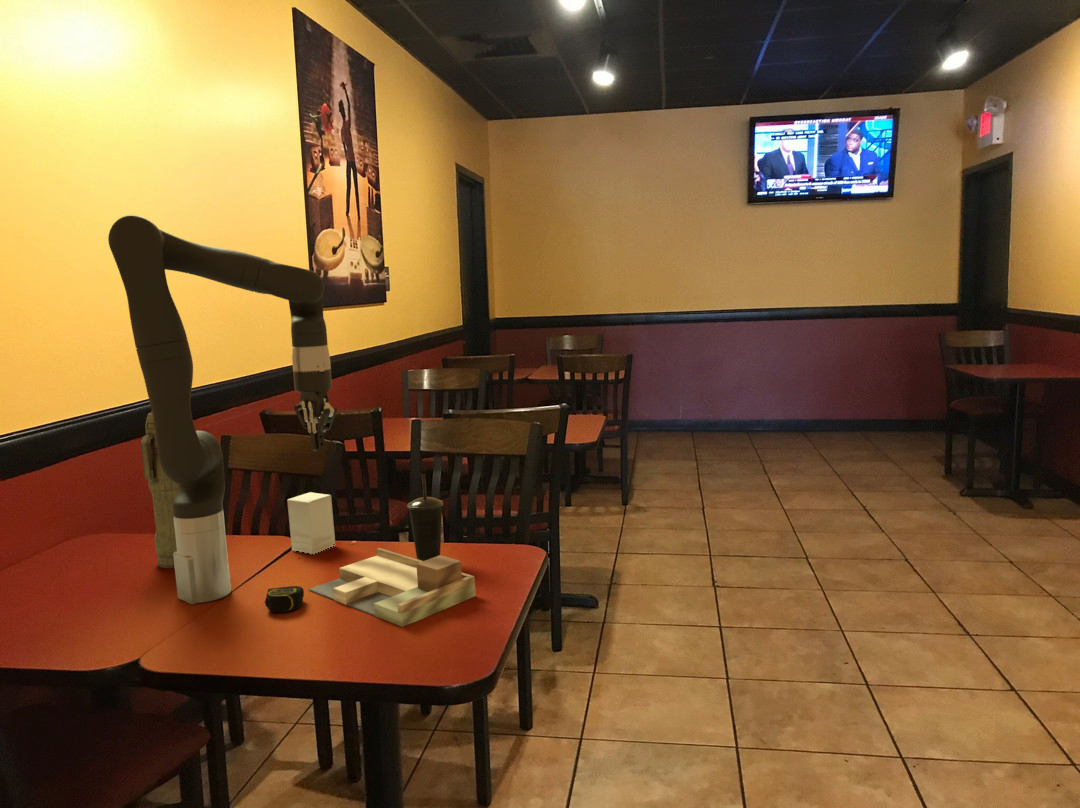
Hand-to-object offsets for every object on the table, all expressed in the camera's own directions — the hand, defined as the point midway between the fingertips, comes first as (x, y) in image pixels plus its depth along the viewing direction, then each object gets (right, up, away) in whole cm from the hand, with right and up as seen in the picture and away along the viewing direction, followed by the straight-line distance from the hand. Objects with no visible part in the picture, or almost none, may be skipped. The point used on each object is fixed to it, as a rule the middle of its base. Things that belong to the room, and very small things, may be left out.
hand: (318, 450), depth 170 cm
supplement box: (-7, -25, +22) cm, 34 cm away
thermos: (-36, -27, +16) cm, 48 cm away
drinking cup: (+22, -26, +8) cm, 35 cm away
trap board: (+17, -28, -9) cm, 34 cm away
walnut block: (+27, -26, -13) cm, 40 cm away
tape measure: (-3, -30, -13) cm, 33 cm away
